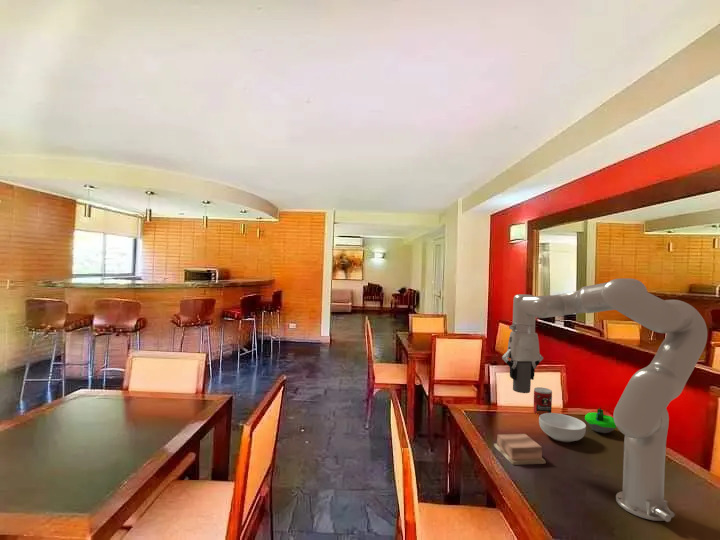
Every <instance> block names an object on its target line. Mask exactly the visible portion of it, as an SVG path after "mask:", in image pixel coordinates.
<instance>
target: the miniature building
mask: <svg viewBox="0 0 720 540" xmlns="http://www.w3.org/2000/svg"><path fill="white" fill-rule="evenodd" d="M596 410H597V411H596V412H592V411H591V412H587V413H586V414H585V416H584V420H585V421H586V423H587V425H588V426H589V428H591V429H592V430H593V431H594V432H597V433H600V434H609V433H611V432H613V431H615V429H616V428H617V427H616V425H615V422H614V418H613V417H612V416H610V415H607V414H604V409H601V407H599V408H597V409H596Z"/></svg>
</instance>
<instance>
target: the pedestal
mask: <svg viewBox="0 0 720 540" xmlns="http://www.w3.org/2000/svg"><path fill="white" fill-rule="evenodd" d="M496 436H497V437H496V439H497V440H496V443H493V447H494V448H495V449H496V450H497V451H498V452H500V454H501V455H502V456H503V457H505V459H506V460H507V461H509V463H510V464H511V465H512V466H513V465H515V466H519V465H543V464H546V463H547V462H546V460H545V459H544V458H543V446H541V445H540V444H539V443H537V441H535V440H534V439H532V438H531V437H530V436H528V435H527V434H526V433H510V434H509V433H506V434H497V435H496Z"/></svg>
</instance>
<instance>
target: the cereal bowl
mask: <svg viewBox="0 0 720 540" xmlns="http://www.w3.org/2000/svg"><path fill="white" fill-rule="evenodd" d="M538 416H539V417H538V423H539V427H540V429H541V430H542V432H543V433H545V435H547V436H549V437H550V438H552V439H553V440H555V441H558V442H562V443H571V442H575V441H576V442H577V441H580V440H581V439H583V438H584V436H585V434H586V431H587V425H586V423H585V422H584V421H583V420H581V419H579V418H577V417H574V416H570V415H567V414H563V413H556V412H551V413H544V414H541V415H538Z"/></svg>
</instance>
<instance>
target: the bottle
mask: <svg viewBox="0 0 720 540" xmlns="http://www.w3.org/2000/svg"><path fill="white" fill-rule="evenodd" d="M515 368H516V369H517V379H516V380H514V379H512V390H513V391H514V392H516V393H520V394H529V393H530V392H531V382H532V381H531V362H517V365H516V367H515Z"/></svg>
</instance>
